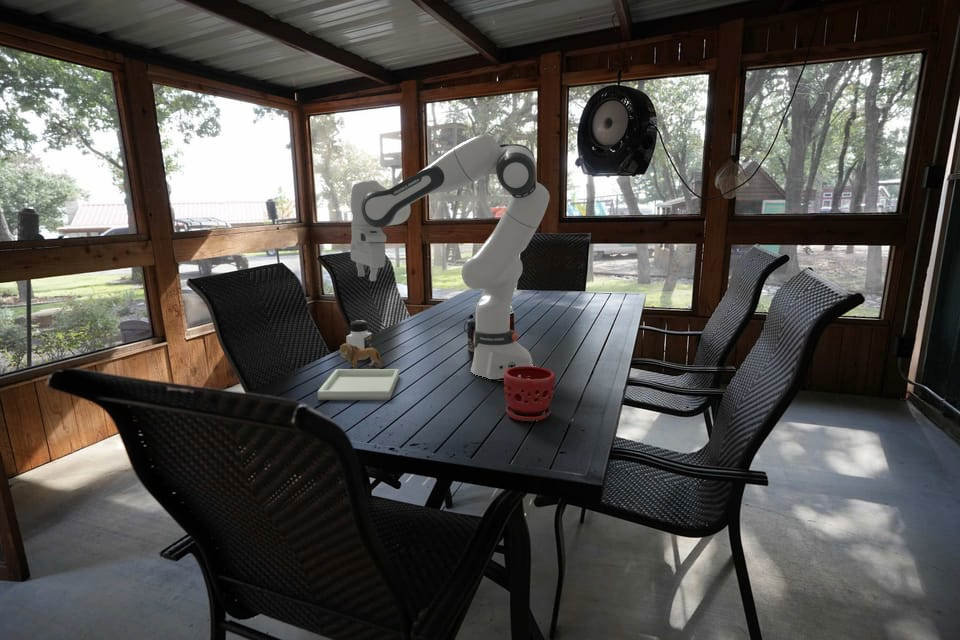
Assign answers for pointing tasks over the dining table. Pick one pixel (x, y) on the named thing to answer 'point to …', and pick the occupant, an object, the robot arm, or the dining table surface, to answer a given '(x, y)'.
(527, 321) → the dining table surface
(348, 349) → the lion figurine
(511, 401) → the plant pot
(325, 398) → the tray
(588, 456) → the dining table surface
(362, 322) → the medicine bottle
